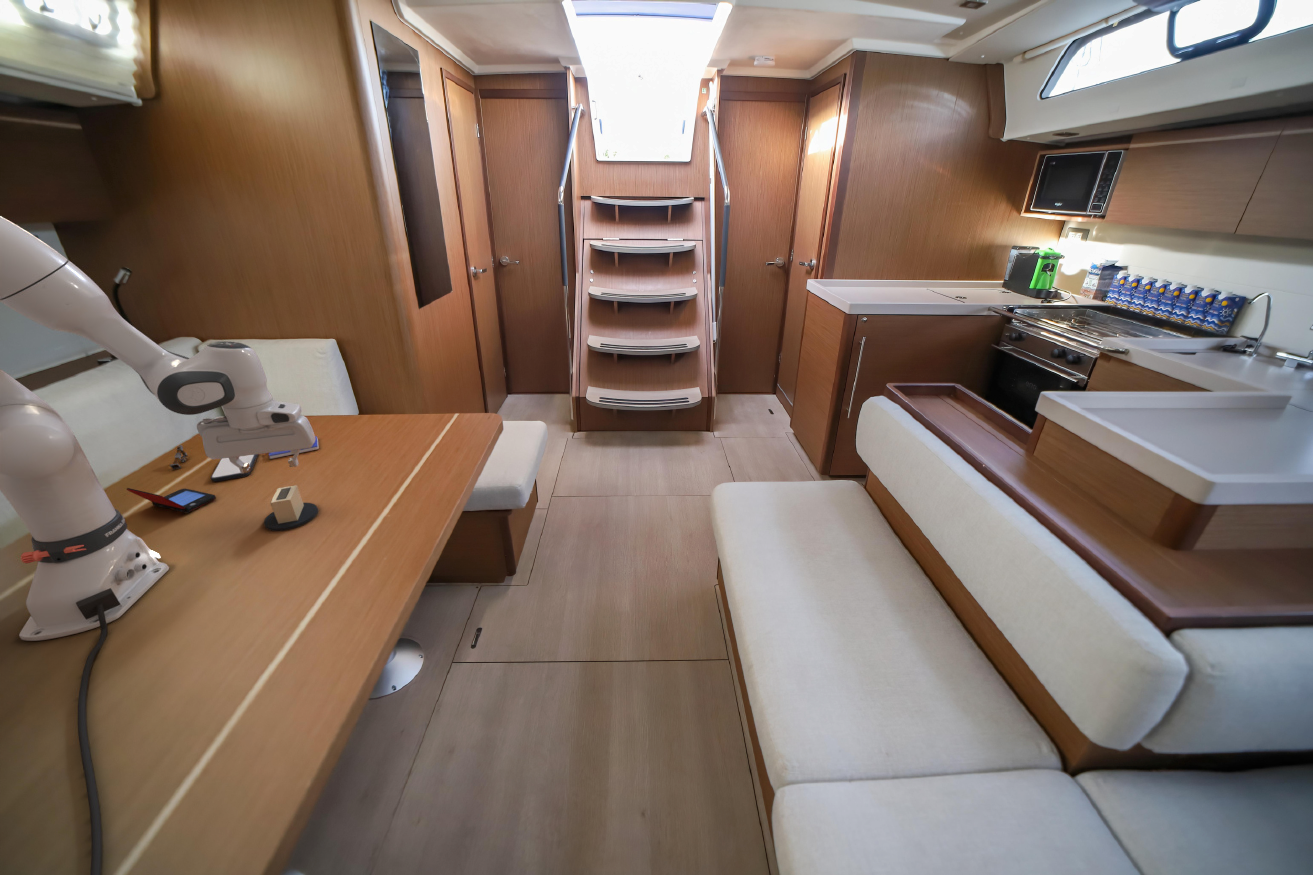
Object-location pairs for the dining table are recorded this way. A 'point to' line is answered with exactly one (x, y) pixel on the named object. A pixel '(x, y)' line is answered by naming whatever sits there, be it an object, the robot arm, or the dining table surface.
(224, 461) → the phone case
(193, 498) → the handheld console
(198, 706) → the dining table surface
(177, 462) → the grey jointed piece
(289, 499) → the beige block
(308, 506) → the mat
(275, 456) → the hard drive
